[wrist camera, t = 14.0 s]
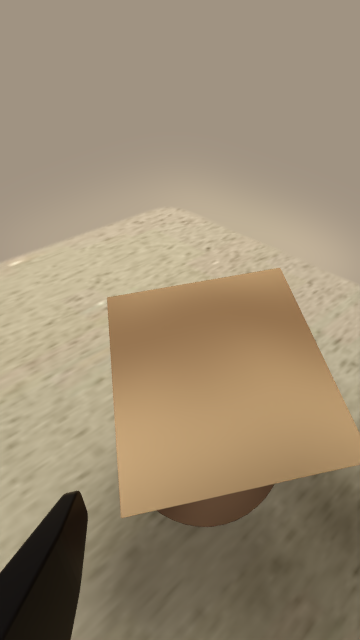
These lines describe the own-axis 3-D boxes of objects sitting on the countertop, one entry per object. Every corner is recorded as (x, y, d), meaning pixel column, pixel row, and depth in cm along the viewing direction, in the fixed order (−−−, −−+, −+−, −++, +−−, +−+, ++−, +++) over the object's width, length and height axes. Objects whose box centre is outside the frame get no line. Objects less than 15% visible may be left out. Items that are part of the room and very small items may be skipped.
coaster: (300, 385, 19) (303, 383, 18) (252, 567, 14) (254, 570, 14) (165, 328, 21) (165, 325, 21) (87, 467, 17) (85, 467, 16)
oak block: (253, 461, 16) (372, 461, 6) (166, 480, 16) (120, 518, 5) (229, 376, 19) (280, 267, 8) (153, 391, 18) (106, 297, 8)
